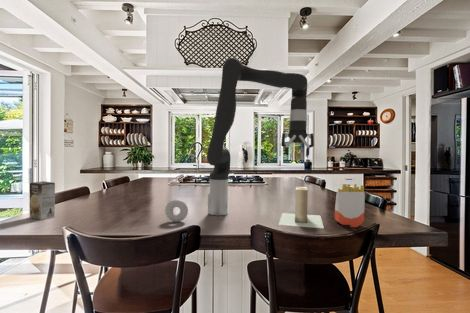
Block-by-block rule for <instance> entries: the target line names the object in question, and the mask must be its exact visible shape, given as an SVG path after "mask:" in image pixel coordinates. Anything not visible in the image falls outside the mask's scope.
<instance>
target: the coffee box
mask: <svg viewBox="0 0 470 313" xmlns="http://www.w3.org/2000/svg"><path fill="white" fill-rule="evenodd" d="M55 188H56V184H55V182H51V181H35V182H29V218H31V219H35V220H40V221H44V220H48V219H51V218H55V217H56V216H55V214H56V210H55V209H56V206H55V204H56V203H55V202H56V198H55V197H56V195H55V194H56V189H55Z"/></svg>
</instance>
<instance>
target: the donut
mask: <svg viewBox="0 0 470 313" xmlns="http://www.w3.org/2000/svg"><path fill="white" fill-rule="evenodd" d="M188 207H189V206H188V205H187V203H186V202H184V201H183V200H182V199H178V198H177V199H172V200H170V201H169V202H168V203H167V204H166V206H165V209H164V210H165V211H164V212H165V215H166V217H167V219H169V221H171V222H174V223H178V222H179V223H180V222H182V221H183V220H185V219H186V218H187V216H188V214H189V213H188V212H189V209H188ZM175 208H179V213H175V212H174V209H175Z"/></svg>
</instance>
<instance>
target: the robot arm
mask: <svg viewBox="0 0 470 313" xmlns="http://www.w3.org/2000/svg"><path fill="white" fill-rule="evenodd" d="M221 73H222V74H221V85H220V91H219V97H218V100H217V106H216V110H215V116H214V122H213V123H214V124H213V129H212V133H211V136H210V141H209V145H208V148H207V152H206V160H207V163H208V164H209V165H210V166H213V170H212V171H211V172H210V173H209V190H208V191H209V194H207V215H212V216H225V215H228V213H229V212H228V210H229V208H228V207H229V175H230V172H231V171H230V170H231V153H230V150H229V149H228V148H227V147H225V146H224V145H225V140H226V137H227V135H228V133H229V132H230V129H231V128H232V126H233V125H234V121H235V117H236V113H237V112H236V111H237V98H236V97H237V96H236V92H237V85H238V81H239V82H251V83H257V84H260V85H261V84H262V85H265V86H270V87H275V88H278V89H284V88H286V89H291V100H290V112H289V113H290V114H289V132H288V133H285V132H282V134H281V135H282V136H281V143H280V144H281V147H284V148H285V149H284V150H285V151H284V154H285V155H286V157H289V151H290V150H289V149H290V148H289V147H290V145H291V144H292V143H294V144H302V143H303V144H304V146H305V147H306V148H305V157H308V156H309V155H310V148H313V147H314V145H315V141H314V140H315V139H314V133H307V130H308V128H307V126H308V123H307V121H308V112H307V107H308V106H307V105H308V104H307V102H308V101H307V95H308V77H306V76H305V75H304V74H301V73H298V72H297V73H296V72H284V71H279V70H274V69H262V68H260V69H259V68H253V67H250V66H248V65H245V64H243V63H242V62H241V61H240V60H239V59H237V58H236V57H230V58H227V59H226V61H225V62H224V63H223V64H222V72H221ZM307 137H308V138H309V139H310V144H309V143H308V142H307V140H306V139H307ZM287 138H289V141H288V142H287V143H286V144H285V142H286V139H287Z"/></svg>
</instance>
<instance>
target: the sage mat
mask: <svg viewBox="0 0 470 313" xmlns="http://www.w3.org/2000/svg"><path fill="white" fill-rule="evenodd" d="M278 226H288V227H300V228H312V229H313V228H315V229H324V228H325V227H324V224H323V220H322V217H321V215H317V214H307V223H297V222H295V213H289V212H282V213H281V215H280V219H279V222H278Z"/></svg>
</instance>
